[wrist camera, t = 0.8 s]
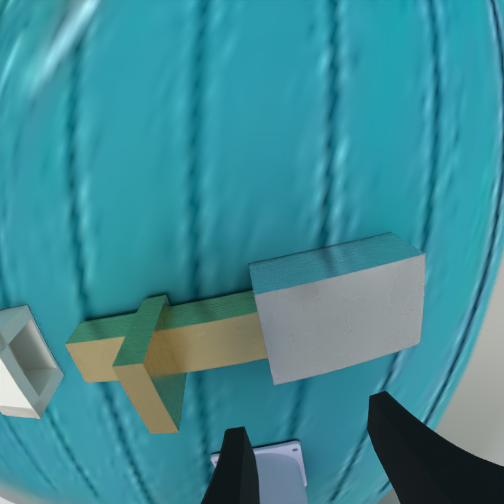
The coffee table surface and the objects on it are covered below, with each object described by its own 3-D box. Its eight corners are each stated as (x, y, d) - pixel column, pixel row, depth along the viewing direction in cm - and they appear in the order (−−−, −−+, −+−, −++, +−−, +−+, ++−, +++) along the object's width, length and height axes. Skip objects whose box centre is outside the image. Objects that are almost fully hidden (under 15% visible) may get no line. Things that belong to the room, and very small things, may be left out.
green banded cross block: (389, 310, 20) (438, 367, 14) (102, 367, 19) (74, 434, 13) (389, 246, 18) (450, 290, 12) (75, 311, 18) (31, 372, 12)
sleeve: (392, 312, 20) (419, 343, 17) (265, 344, 20) (274, 385, 16) (391, 232, 18) (425, 253, 15) (248, 263, 18) (254, 295, 15)
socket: (64, 375, 20) (40, 418, 16) (27, 376, 20) (3, 414, 15) (27, 304, 18) (-9, 341, 13) (-8, 311, 18) (-42, 344, 13)
